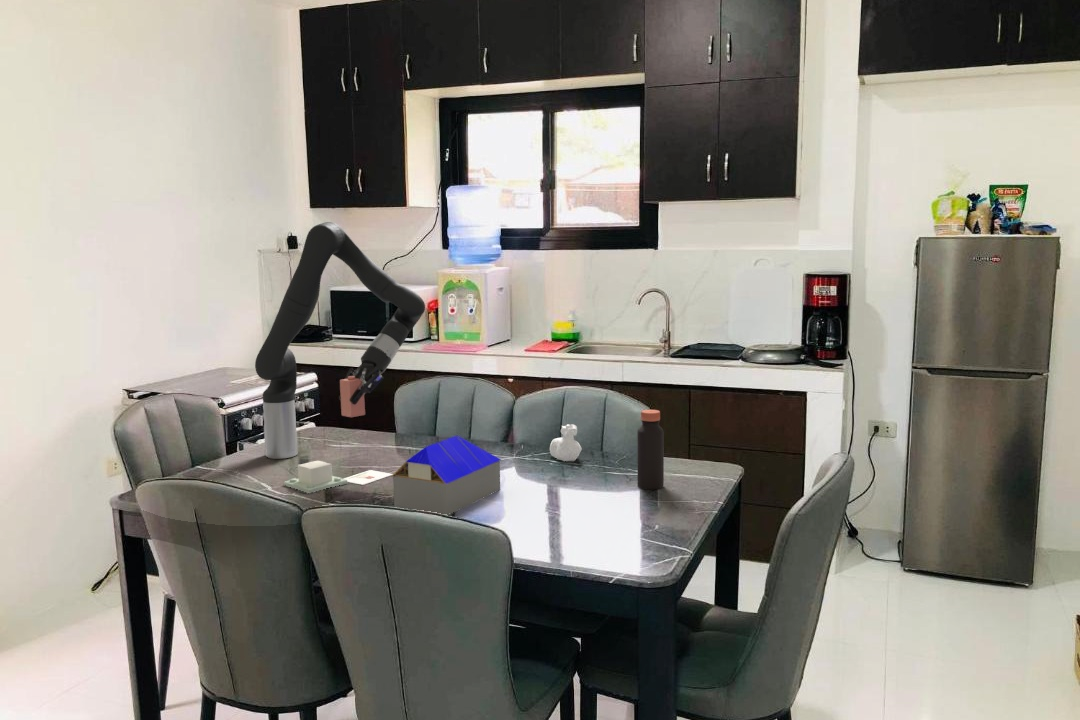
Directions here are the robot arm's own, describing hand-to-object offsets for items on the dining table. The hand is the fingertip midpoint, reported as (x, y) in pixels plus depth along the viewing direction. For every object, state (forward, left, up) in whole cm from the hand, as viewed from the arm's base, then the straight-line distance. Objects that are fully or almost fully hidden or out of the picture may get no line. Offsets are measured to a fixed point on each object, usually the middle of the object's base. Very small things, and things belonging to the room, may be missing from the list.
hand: (346, 401), depth 237 cm
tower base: (0, -11, -21) cm, 24 cm away
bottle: (+70, +45, -21) cm, 86 cm away
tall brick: (0, +2, -4) cm, 5 cm away
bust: (+34, +53, -21) cm, 66 cm away
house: (+37, +4, -22) cm, 43 cm away
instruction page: (+5, +2, -21) cm, 22 cm away
